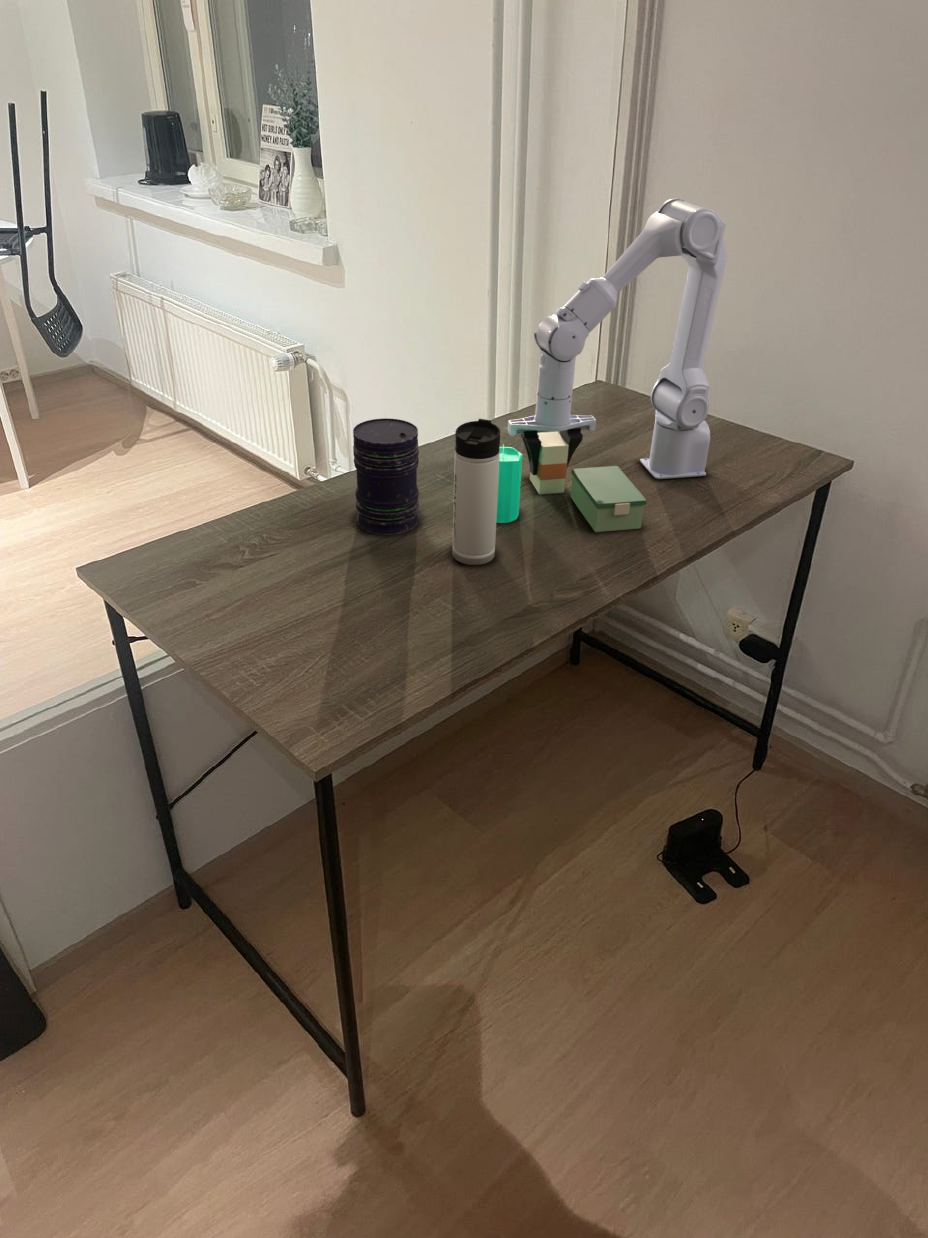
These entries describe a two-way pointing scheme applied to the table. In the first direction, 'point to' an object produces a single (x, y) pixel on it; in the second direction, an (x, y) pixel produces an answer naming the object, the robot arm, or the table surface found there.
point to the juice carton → (551, 464)
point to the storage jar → (386, 475)
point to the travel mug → (475, 491)
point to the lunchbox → (607, 498)
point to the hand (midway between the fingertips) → (548, 471)
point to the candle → (509, 484)
